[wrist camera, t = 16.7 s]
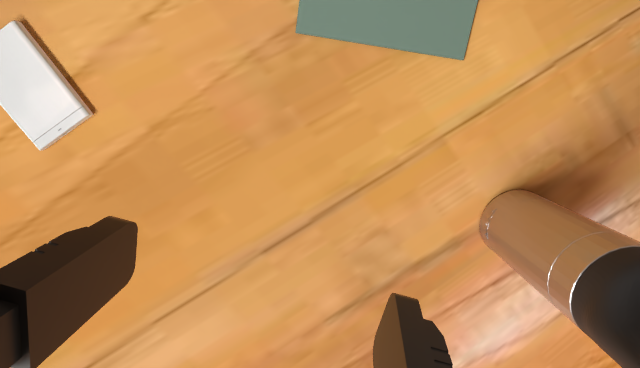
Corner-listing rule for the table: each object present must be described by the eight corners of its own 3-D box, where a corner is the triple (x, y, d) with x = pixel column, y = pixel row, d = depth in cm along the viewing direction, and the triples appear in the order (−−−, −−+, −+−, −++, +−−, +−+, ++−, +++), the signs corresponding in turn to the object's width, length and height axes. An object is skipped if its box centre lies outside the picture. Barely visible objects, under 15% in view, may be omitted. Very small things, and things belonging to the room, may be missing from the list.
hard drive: (-40, 60, 40) (37, 151, 42) (12, 19, 39) (87, 114, 41) (-26, 62, 41) (47, 149, 44) (24, 22, 40) (96, 114, 43)
